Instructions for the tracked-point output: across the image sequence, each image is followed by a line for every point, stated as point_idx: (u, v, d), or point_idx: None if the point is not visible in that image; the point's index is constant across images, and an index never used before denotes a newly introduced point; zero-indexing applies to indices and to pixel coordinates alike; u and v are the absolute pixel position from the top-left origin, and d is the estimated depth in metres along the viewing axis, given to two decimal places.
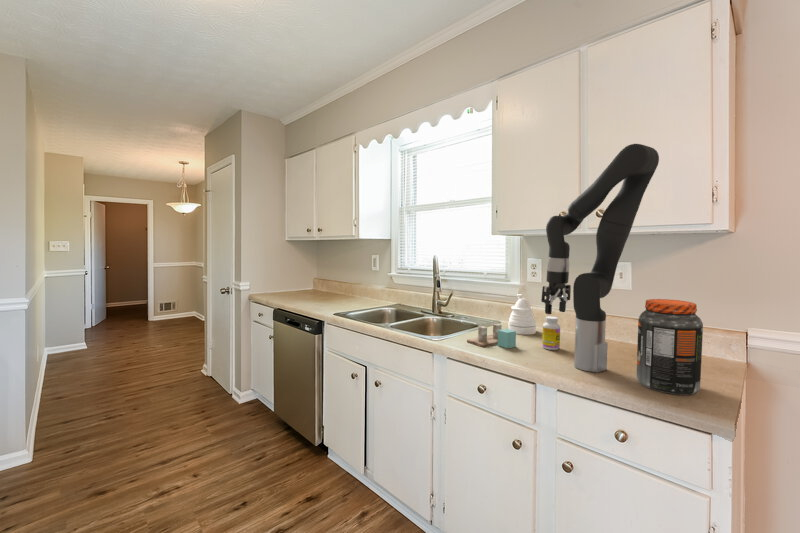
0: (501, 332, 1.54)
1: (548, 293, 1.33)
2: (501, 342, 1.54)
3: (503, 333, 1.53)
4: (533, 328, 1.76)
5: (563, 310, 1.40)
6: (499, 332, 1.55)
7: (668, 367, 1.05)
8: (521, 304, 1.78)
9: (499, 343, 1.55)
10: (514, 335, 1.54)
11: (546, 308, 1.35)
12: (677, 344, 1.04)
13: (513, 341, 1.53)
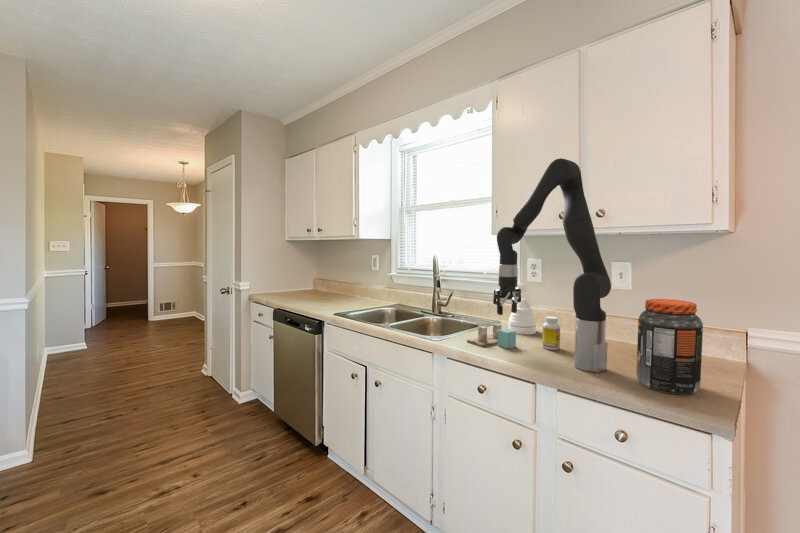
0: (501, 332, 1.54)
1: (498, 296, 1.49)
2: (501, 342, 1.54)
3: (503, 333, 1.53)
4: (533, 328, 1.76)
5: (514, 311, 1.56)
6: (499, 332, 1.55)
7: (668, 367, 1.05)
8: (521, 304, 1.78)
9: (499, 343, 1.55)
10: (514, 335, 1.54)
11: (498, 309, 1.51)
12: (677, 344, 1.04)
13: (513, 341, 1.53)
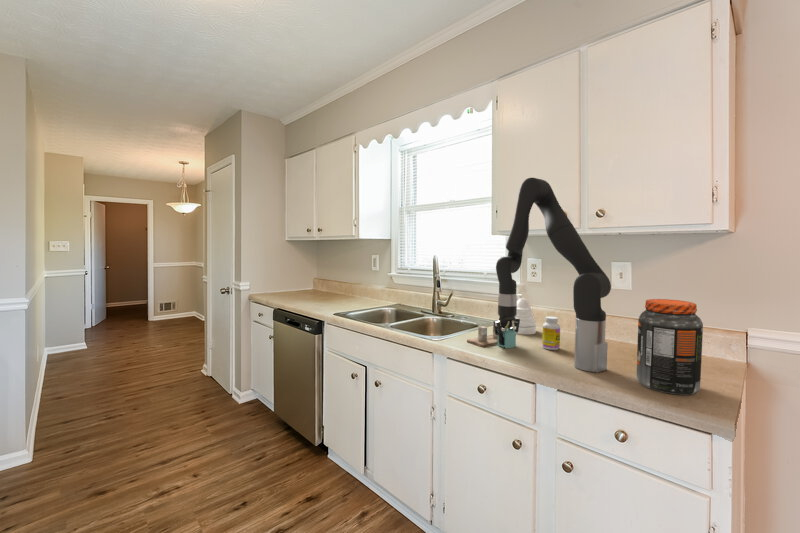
0: (501, 332, 1.54)
1: (499, 327, 1.51)
2: None
3: None
4: (533, 328, 1.76)
5: None
6: None
7: (668, 367, 1.05)
8: (521, 304, 1.78)
9: None
10: (514, 335, 1.54)
11: (500, 340, 1.53)
12: (677, 344, 1.04)
13: (513, 341, 1.53)
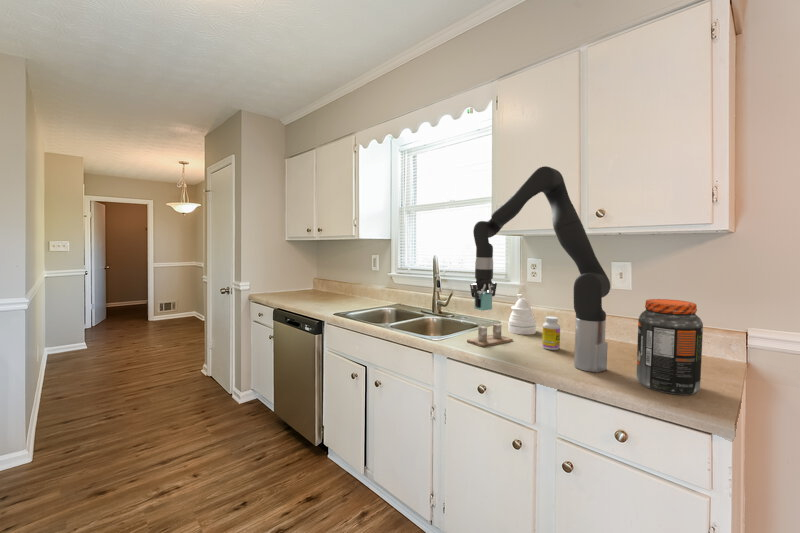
0: (478, 295, 1.58)
1: (475, 290, 1.55)
2: None
3: None
4: (533, 328, 1.76)
5: None
6: None
7: (668, 367, 1.05)
8: (521, 304, 1.78)
9: None
10: (490, 298, 1.58)
11: (476, 302, 1.57)
12: (677, 344, 1.04)
13: (489, 304, 1.58)
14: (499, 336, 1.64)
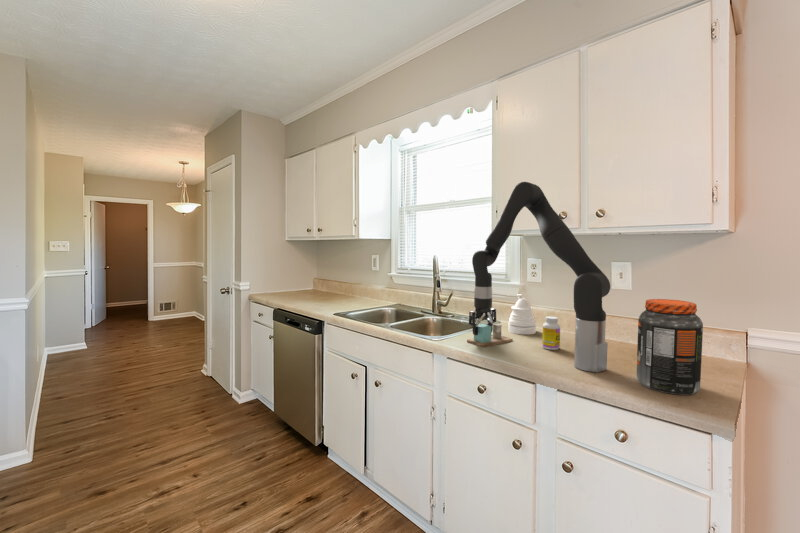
0: None
1: (473, 317, 1.55)
2: (477, 337, 1.59)
3: (479, 328, 1.58)
4: (533, 328, 1.76)
5: None
6: None
7: (668, 367, 1.05)
8: (521, 304, 1.78)
9: (475, 338, 1.60)
10: (489, 330, 1.58)
11: (473, 330, 1.57)
12: (677, 344, 1.04)
13: (488, 336, 1.58)
14: (499, 336, 1.64)
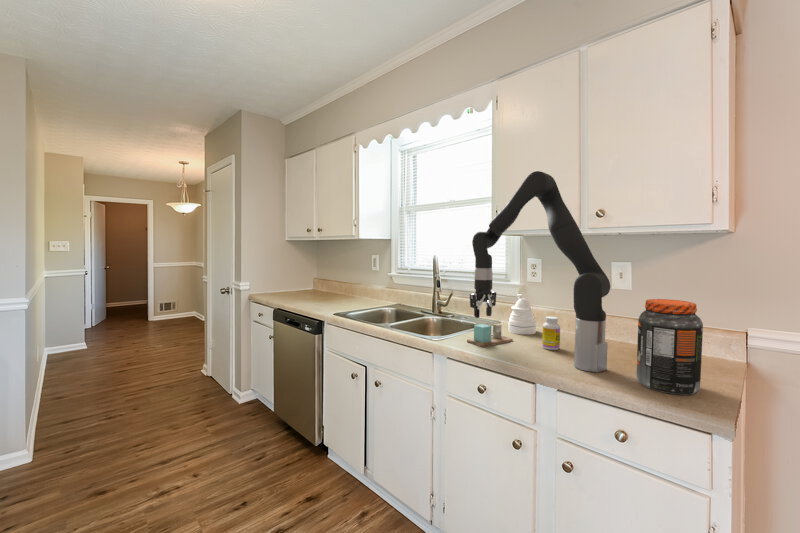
0: (477, 327, 1.59)
1: (474, 300, 1.54)
2: (477, 337, 1.59)
3: (479, 328, 1.58)
4: (533, 328, 1.76)
5: (489, 314, 1.60)
6: (475, 327, 1.60)
7: (668, 367, 1.05)
8: (521, 304, 1.78)
9: (475, 338, 1.60)
10: (489, 330, 1.58)
11: (475, 312, 1.57)
12: (677, 344, 1.04)
13: (488, 336, 1.58)
14: (499, 336, 1.64)
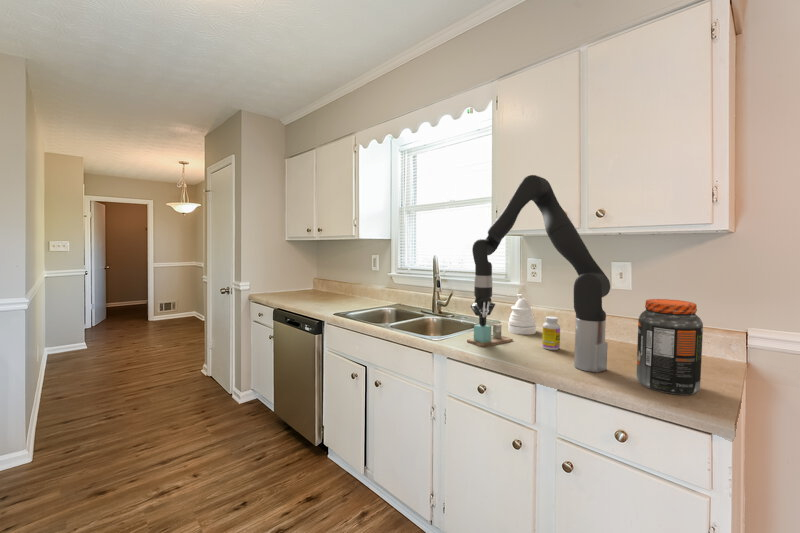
0: (477, 327, 1.59)
1: (477, 310, 1.56)
2: (477, 337, 1.59)
3: (479, 328, 1.58)
4: (533, 328, 1.76)
5: None
6: (475, 327, 1.60)
7: (668, 367, 1.05)
8: (521, 304, 1.78)
9: (475, 338, 1.60)
10: (489, 330, 1.58)
11: (480, 320, 1.59)
12: (677, 344, 1.04)
13: (488, 336, 1.58)
14: (499, 336, 1.64)
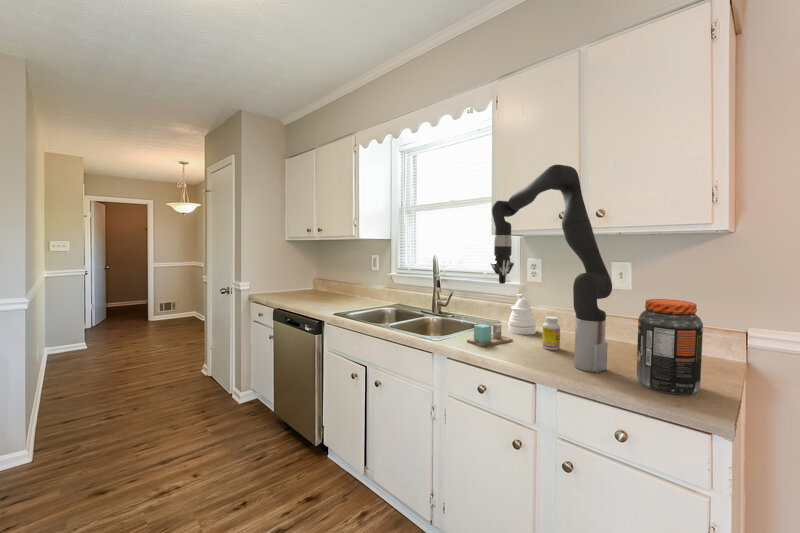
0: (477, 327, 1.59)
1: (497, 268, 1.64)
2: (477, 337, 1.59)
3: (479, 328, 1.58)
4: (533, 328, 1.76)
5: None
6: (475, 327, 1.60)
7: (668, 367, 1.05)
8: (521, 304, 1.78)
9: (475, 338, 1.60)
10: (489, 330, 1.58)
11: (499, 278, 1.67)
12: (677, 344, 1.04)
13: (488, 336, 1.58)
14: (499, 336, 1.64)
